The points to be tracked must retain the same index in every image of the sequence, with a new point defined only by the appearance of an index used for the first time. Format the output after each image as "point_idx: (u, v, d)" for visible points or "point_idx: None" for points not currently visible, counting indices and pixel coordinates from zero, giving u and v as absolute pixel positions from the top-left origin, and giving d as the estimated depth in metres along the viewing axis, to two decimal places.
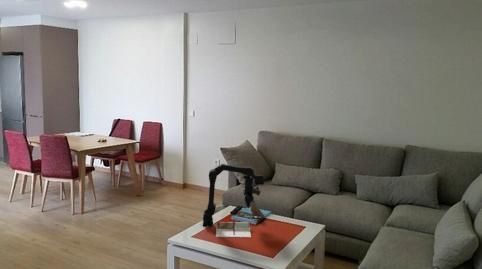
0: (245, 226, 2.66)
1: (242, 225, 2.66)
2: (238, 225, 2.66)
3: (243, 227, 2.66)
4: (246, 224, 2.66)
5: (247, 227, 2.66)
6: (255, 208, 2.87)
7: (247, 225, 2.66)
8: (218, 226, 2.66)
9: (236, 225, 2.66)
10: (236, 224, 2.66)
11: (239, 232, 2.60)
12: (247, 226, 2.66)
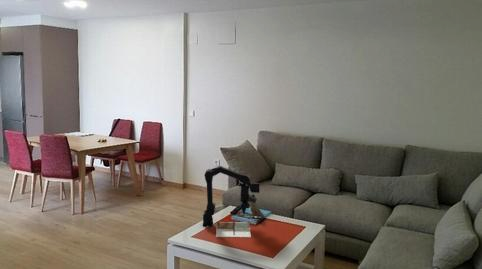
0: (245, 226, 2.66)
1: (242, 225, 2.66)
2: (238, 225, 2.66)
3: (243, 227, 2.66)
4: (246, 224, 2.66)
5: (247, 227, 2.66)
6: (255, 208, 2.87)
7: (247, 225, 2.66)
8: (218, 226, 2.66)
9: (236, 225, 2.66)
10: (236, 224, 2.66)
11: (239, 232, 2.60)
12: (247, 226, 2.66)
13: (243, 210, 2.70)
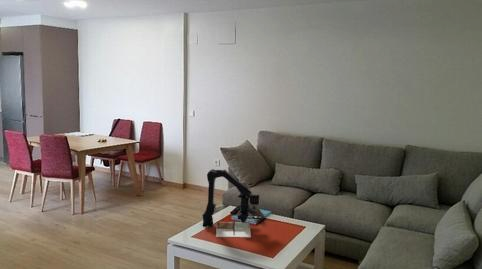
0: (245, 226, 2.66)
1: (242, 225, 2.66)
2: (238, 225, 2.66)
3: (243, 227, 2.66)
4: (246, 224, 2.66)
5: (247, 227, 2.66)
6: None
7: (247, 225, 2.66)
8: (218, 226, 2.66)
9: (236, 225, 2.66)
10: (236, 224, 2.66)
11: (239, 232, 2.60)
12: (247, 226, 2.66)
13: (243, 221, 2.68)
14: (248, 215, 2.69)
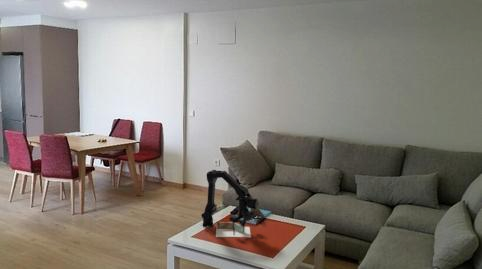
0: (240, 229, 2.60)
1: (238, 227, 2.62)
2: (236, 226, 2.64)
3: (239, 230, 2.61)
4: (241, 228, 2.60)
5: (242, 231, 2.59)
6: None
7: (242, 229, 2.59)
8: (218, 226, 2.66)
9: (235, 225, 2.65)
10: (234, 225, 2.65)
11: (239, 232, 2.60)
12: (242, 230, 2.59)
13: (241, 224, 2.62)
14: (246, 220, 2.60)
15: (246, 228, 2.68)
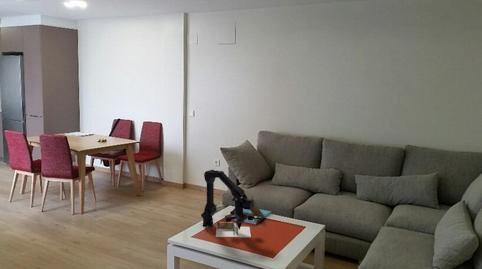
0: (235, 230, 2.59)
1: (234, 228, 2.61)
2: (234, 226, 2.63)
3: (235, 230, 2.60)
4: (235, 228, 2.58)
5: (235, 232, 2.58)
6: (255, 208, 2.87)
7: (236, 230, 2.57)
8: (218, 226, 2.66)
9: (233, 225, 2.64)
10: (233, 225, 2.65)
11: (239, 232, 2.60)
12: (235, 231, 2.57)
13: None
14: (240, 221, 2.57)
15: (246, 228, 2.68)
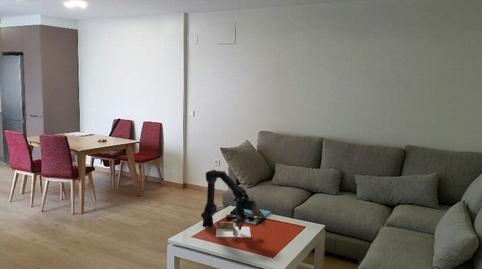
0: None
1: None
2: None
3: None
4: (233, 228, 2.58)
5: (233, 232, 2.57)
6: (255, 208, 2.87)
7: (233, 230, 2.57)
8: (218, 226, 2.66)
9: (233, 225, 2.64)
10: (233, 225, 2.65)
11: (239, 232, 2.60)
12: (233, 231, 2.57)
13: (238, 226, 2.60)
14: (241, 221, 2.56)
15: (246, 228, 2.68)
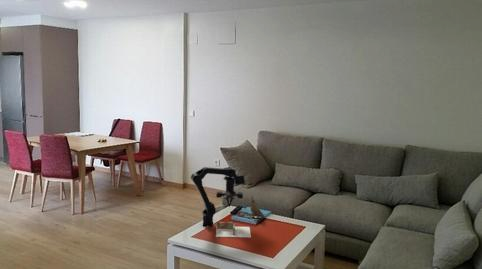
0: None
1: None
2: None
3: None
4: (233, 228, 2.58)
5: (233, 232, 2.57)
6: (255, 208, 2.87)
7: (233, 230, 2.57)
8: (218, 226, 2.66)
9: (233, 225, 2.64)
10: (233, 225, 2.65)
11: (239, 232, 2.60)
12: (233, 231, 2.57)
13: None
14: (230, 198, 2.73)
15: (246, 228, 2.68)
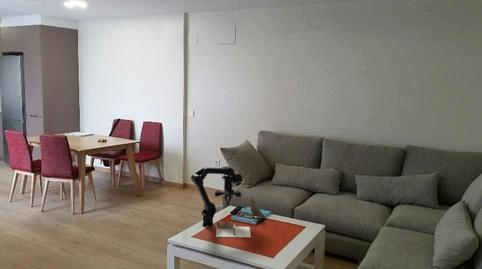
0: None
1: None
2: None
3: None
4: (233, 228, 2.58)
5: (233, 232, 2.57)
6: (255, 208, 2.87)
7: (233, 230, 2.57)
8: (218, 226, 2.66)
9: (233, 225, 2.64)
10: (233, 225, 2.65)
11: (239, 232, 2.60)
12: (233, 231, 2.57)
13: (226, 201, 2.80)
14: (229, 197, 2.76)
15: (246, 228, 2.68)
